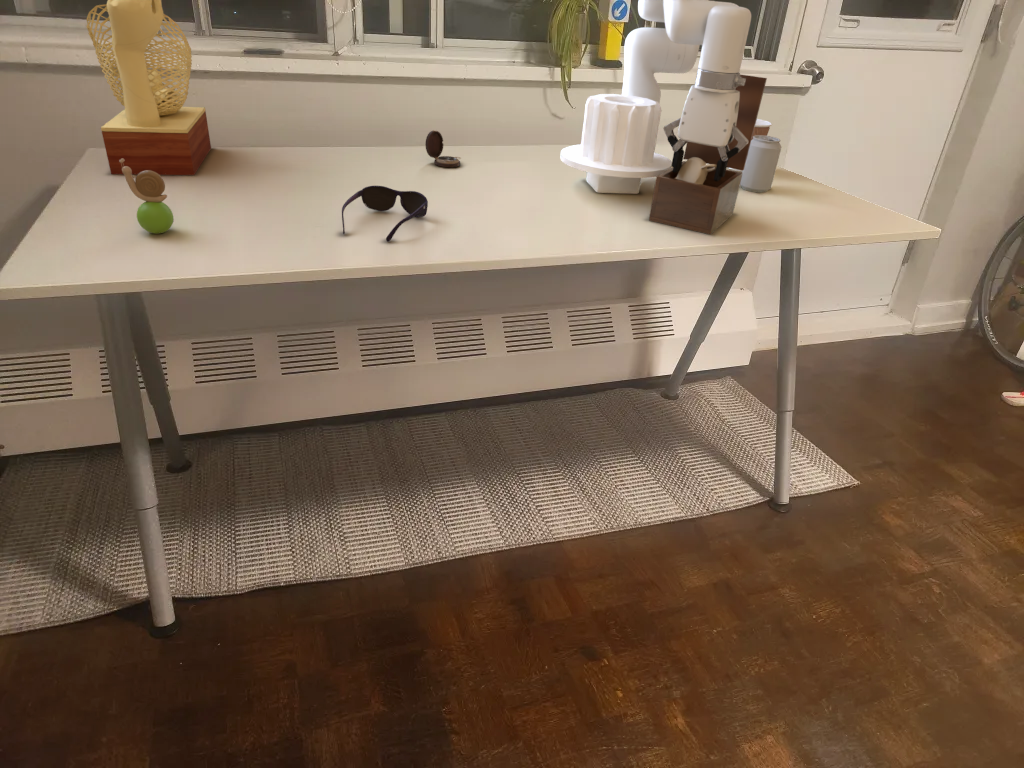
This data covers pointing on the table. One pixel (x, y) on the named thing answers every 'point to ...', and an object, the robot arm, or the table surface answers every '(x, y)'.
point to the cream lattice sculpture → (148, 92)
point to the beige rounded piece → (694, 170)
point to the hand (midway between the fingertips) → (696, 175)
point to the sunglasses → (391, 203)
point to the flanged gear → (618, 143)
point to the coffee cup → (759, 131)
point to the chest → (694, 200)
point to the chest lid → (745, 123)
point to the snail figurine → (150, 200)
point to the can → (761, 163)
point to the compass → (439, 150)
